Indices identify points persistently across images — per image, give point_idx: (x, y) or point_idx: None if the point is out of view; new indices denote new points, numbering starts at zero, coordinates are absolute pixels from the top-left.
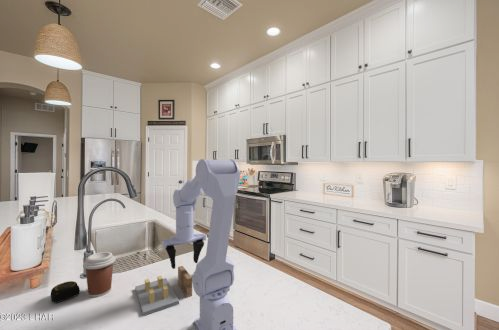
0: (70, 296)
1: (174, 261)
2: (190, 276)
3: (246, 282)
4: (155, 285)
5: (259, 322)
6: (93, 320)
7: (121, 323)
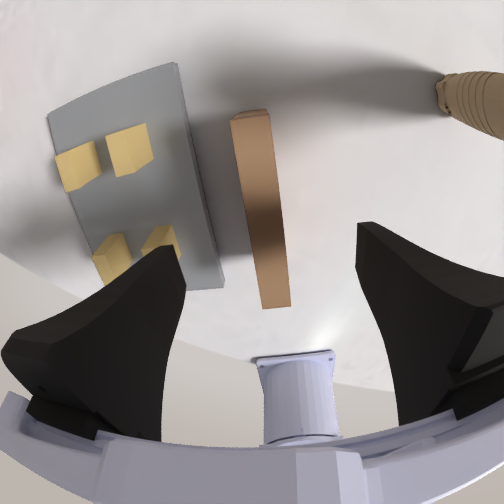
0: None
1: (168, 337)
2: (286, 292)
3: (481, 252)
4: (119, 128)
5: (380, 384)
6: (17, 251)
7: (75, 290)
